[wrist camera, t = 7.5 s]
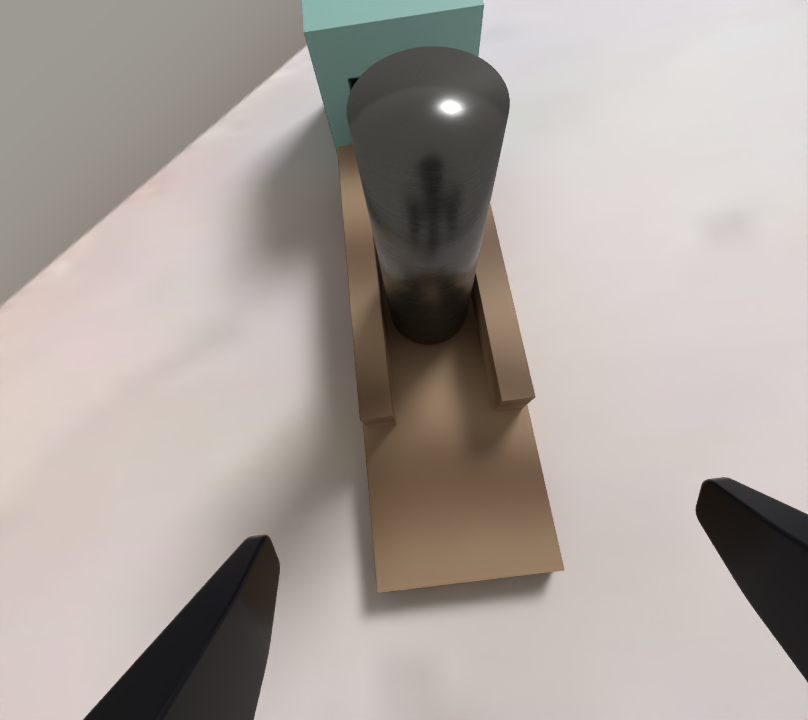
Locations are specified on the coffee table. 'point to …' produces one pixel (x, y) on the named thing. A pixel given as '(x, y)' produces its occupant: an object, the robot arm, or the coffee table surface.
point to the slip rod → (428, 178)
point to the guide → (445, 427)
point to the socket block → (378, 41)
